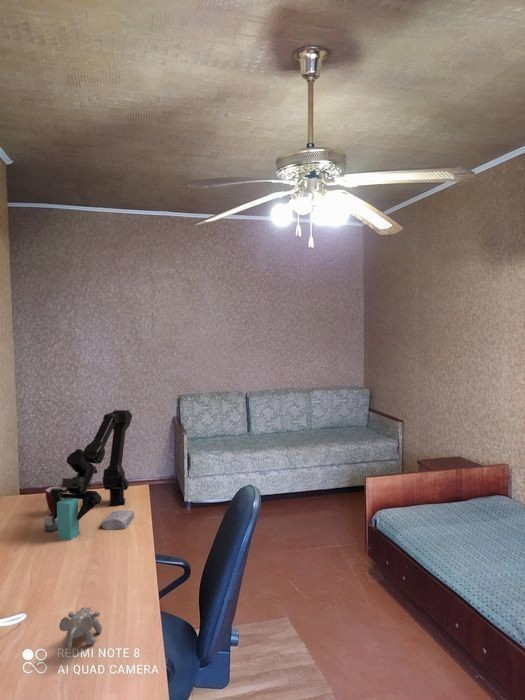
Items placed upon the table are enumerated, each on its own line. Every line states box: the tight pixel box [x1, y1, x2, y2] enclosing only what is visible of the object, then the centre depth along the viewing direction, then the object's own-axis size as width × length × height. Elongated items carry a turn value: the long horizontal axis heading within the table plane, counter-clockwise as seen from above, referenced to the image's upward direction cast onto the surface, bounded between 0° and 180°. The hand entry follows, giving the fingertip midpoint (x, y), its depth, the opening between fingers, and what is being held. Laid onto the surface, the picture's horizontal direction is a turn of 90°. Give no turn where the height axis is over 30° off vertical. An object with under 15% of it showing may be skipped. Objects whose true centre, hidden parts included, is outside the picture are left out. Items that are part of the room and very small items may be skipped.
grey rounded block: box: [43, 513, 58, 534], centre depth 182 cm, size 5×5×5 cm
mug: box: [45, 485, 68, 514], centre depth 199 cm, size 10×8×10 cm
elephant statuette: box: [58, 607, 103, 650], centre depth 116 cm, size 9×12×8 cm
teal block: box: [57, 498, 80, 541], centre depth 176 cm, size 5×5×13 cm
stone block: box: [101, 509, 135, 531], centre depth 187 cm, size 12×5×10 cm
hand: (66, 518), depth 175 cm, fingers open, 9 cm apart
